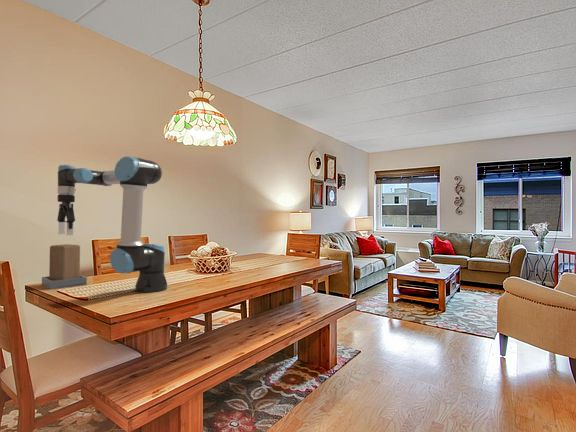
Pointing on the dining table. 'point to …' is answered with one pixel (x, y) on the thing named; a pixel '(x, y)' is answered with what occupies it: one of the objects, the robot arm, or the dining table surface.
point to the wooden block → (64, 262)
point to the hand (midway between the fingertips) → (65, 234)
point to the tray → (64, 282)
